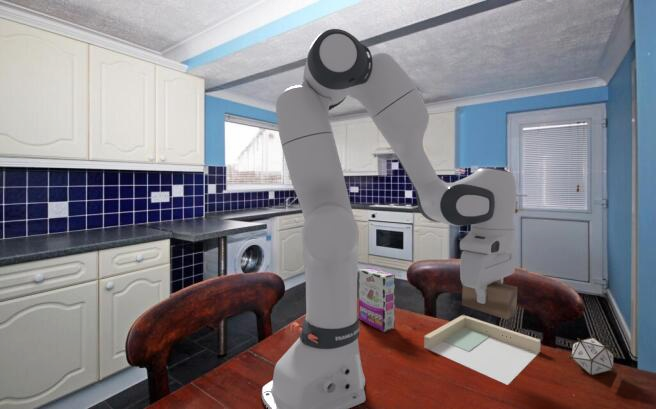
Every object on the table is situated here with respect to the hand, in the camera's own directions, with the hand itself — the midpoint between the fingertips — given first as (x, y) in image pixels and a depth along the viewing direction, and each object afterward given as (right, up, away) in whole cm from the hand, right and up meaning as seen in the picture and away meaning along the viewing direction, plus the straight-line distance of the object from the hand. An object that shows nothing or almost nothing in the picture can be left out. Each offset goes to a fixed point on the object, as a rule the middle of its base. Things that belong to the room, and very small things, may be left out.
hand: (488, 299), depth 73 cm
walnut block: (0, -2, 0) cm, 2 cm away
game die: (+22, -16, -2) cm, 28 cm away
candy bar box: (-22, -15, +24) cm, 36 cm away
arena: (+2, -16, +7) cm, 18 cm away
